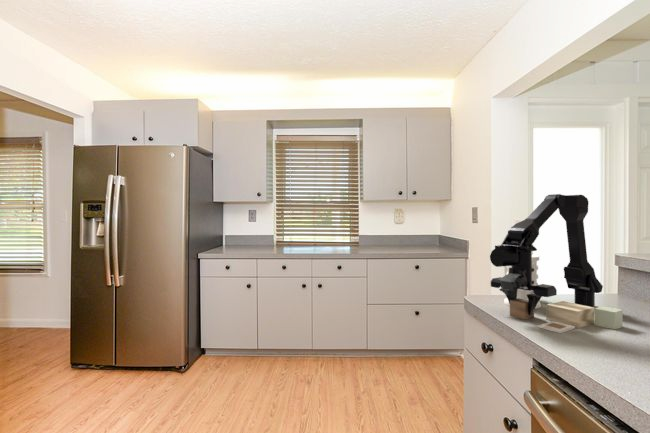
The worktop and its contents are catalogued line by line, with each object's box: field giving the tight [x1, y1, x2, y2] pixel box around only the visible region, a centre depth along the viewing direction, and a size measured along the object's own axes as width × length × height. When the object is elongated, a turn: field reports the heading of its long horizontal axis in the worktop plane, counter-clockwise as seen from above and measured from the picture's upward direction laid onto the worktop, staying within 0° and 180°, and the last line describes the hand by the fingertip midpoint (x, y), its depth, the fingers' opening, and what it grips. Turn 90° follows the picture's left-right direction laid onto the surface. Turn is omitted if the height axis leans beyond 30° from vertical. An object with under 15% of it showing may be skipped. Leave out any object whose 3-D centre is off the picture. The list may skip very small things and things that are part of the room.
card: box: [538, 321, 576, 334], centre depth 103 cm, size 8×6×1 cm
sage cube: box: [594, 305, 623, 330], centre depth 104 cm, size 5×5×5 cm
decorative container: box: [504, 254, 542, 310], centre depth 129 cm, size 12×12×18 cm
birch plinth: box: [545, 300, 595, 329], centre depth 109 cm, size 9×9×5 cm
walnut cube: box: [509, 298, 535, 320], centre depth 115 cm, size 5×5×5 cm
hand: (521, 312), depth 115 cm, fingers closed on walnut cube, 5 cm apart
